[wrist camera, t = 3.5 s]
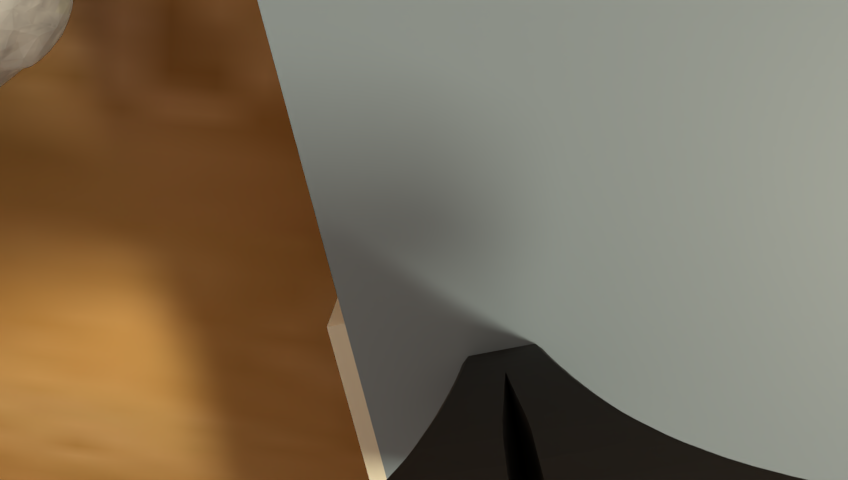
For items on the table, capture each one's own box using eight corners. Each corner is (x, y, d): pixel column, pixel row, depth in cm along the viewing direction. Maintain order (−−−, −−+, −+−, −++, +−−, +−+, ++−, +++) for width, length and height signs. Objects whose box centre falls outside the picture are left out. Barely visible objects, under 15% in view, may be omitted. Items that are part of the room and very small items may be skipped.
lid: (880, 537, 16) (996, 660, 12) (441, 612, 16) (444, 747, 13) (857, -132, 12) (1016, -201, 9) (281, 3, 12) (231, -14, 9)
